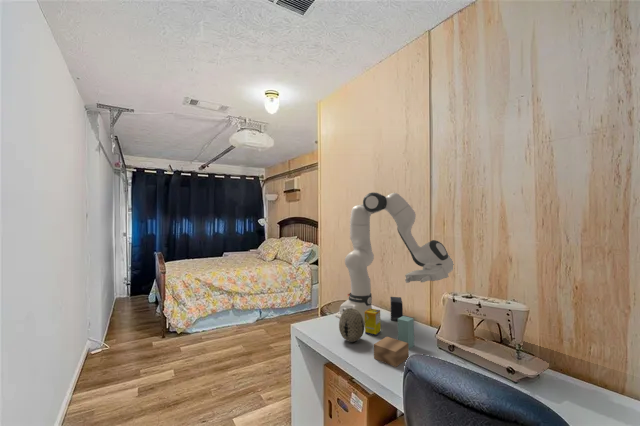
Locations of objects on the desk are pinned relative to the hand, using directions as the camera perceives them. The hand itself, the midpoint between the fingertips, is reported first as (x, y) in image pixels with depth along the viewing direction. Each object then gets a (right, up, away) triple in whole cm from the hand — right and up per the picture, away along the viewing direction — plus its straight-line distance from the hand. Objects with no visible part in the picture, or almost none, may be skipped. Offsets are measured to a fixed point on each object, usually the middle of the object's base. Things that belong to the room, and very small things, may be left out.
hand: (413, 280), depth 137 cm
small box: (-1, -27, +26) cm, 38 cm away
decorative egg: (-29, -27, -2) cm, 40 cm away
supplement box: (-18, -27, +6) cm, 33 cm away
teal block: (-6, -27, -8) cm, 29 cm away
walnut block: (-15, -27, -19) cm, 36 cm away
